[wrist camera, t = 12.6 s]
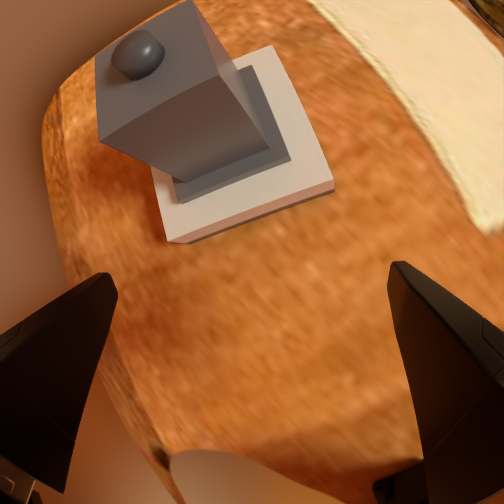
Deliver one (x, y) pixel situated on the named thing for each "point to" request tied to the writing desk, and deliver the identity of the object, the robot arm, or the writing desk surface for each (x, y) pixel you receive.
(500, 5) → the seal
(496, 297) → the writing desk surface
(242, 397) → the writing desk surface
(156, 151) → the grey block with knob
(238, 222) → the socket
